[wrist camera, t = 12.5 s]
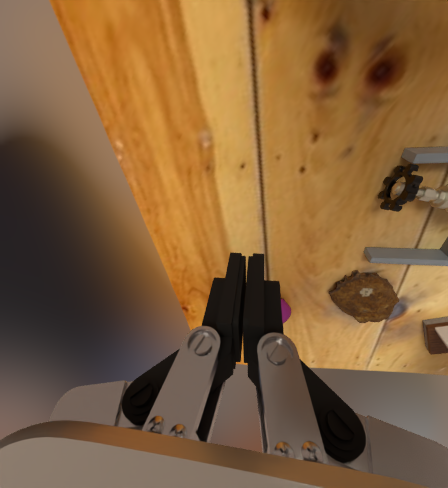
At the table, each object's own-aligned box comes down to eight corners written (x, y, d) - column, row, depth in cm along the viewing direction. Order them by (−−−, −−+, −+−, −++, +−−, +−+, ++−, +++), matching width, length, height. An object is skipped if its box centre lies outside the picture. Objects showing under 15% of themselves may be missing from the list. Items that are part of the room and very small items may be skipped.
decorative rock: (404, 300, 47) (370, 257, 43) (416, 315, 44) (380, 271, 39) (353, 320, 53) (318, 284, 48) (360, 335, 49) (322, 298, 45)
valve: (482, 174, 30) (398, 156, 31) (528, 193, 25) (425, 172, 26) (446, 214, 35) (371, 198, 35) (479, 238, 29) (390, 219, 30)
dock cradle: (404, 148, 30) (417, 153, 28) (520, 143, 28) (544, 149, 25) (363, 252, 41) (369, 262, 38) (444, 254, 39) (455, 266, 36)
